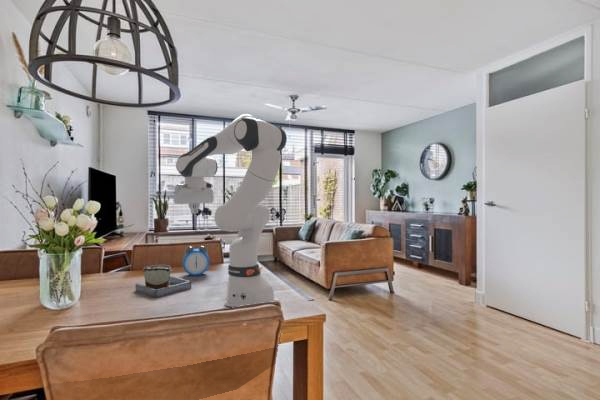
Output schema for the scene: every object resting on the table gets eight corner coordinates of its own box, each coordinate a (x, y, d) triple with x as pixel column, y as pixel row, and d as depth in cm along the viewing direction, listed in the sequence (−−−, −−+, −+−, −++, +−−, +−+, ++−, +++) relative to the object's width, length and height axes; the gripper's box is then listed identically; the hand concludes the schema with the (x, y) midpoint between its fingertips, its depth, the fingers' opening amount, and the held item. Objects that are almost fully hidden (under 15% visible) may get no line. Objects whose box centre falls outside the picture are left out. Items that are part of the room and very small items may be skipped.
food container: (175, 285, 146) (175, 264, 146) (170, 289, 140) (170, 267, 140) (148, 285, 146) (148, 264, 145) (142, 290, 139) (142, 267, 139)
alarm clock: (182, 277, 161) (182, 247, 160) (183, 274, 167) (183, 245, 166) (209, 275, 165) (209, 246, 165) (209, 272, 171) (209, 244, 170)
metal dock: (191, 287, 143) (191, 281, 143) (155, 297, 129) (154, 290, 129) (171, 281, 152) (171, 275, 152) (135, 290, 138) (135, 283, 138)
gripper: (178, 183, 142) (178, 214, 142) (215, 184, 159) (215, 212, 159) (170, 183, 146) (170, 213, 146) (207, 185, 162) (207, 211, 163)
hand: (194, 213), depth 153 cm, fingers closed
